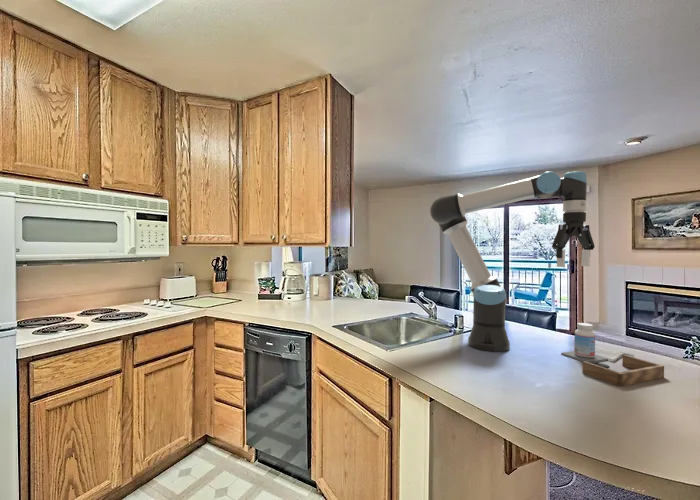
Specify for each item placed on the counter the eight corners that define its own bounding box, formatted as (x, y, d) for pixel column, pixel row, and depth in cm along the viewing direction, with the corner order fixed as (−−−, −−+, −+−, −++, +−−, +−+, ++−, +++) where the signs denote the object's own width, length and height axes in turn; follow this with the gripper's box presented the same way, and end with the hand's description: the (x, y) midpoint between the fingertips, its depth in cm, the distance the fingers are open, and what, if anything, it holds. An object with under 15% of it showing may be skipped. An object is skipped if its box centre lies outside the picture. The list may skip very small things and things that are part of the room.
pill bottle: (595, 359, 118) (596, 327, 118) (574, 356, 121) (575, 324, 121) (594, 354, 123) (594, 323, 123) (573, 351, 126) (574, 321, 126)
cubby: (620, 386, 97) (620, 374, 97) (582, 372, 107) (582, 361, 107) (663, 377, 104) (664, 365, 104) (624, 365, 114) (624, 354, 114)
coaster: (588, 363, 115) (588, 361, 115) (561, 354, 125) (561, 352, 125) (608, 360, 119) (608, 358, 119) (580, 351, 128) (580, 349, 128)
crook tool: (609, 361, 118) (609, 358, 118) (620, 354, 126) (620, 351, 126) (623, 365, 115) (623, 361, 115) (634, 357, 122) (634, 354, 122)
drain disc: (604, 368, 111) (604, 368, 111) (591, 364, 115) (591, 363, 115) (612, 367, 112) (612, 366, 112) (599, 363, 116) (599, 362, 116)
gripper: (560, 210, 125) (558, 267, 125) (606, 212, 133) (605, 266, 134) (542, 211, 132) (541, 266, 132) (587, 214, 140) (586, 265, 141)
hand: (573, 266), depth 133 cm, fingers open, 13 cm apart
